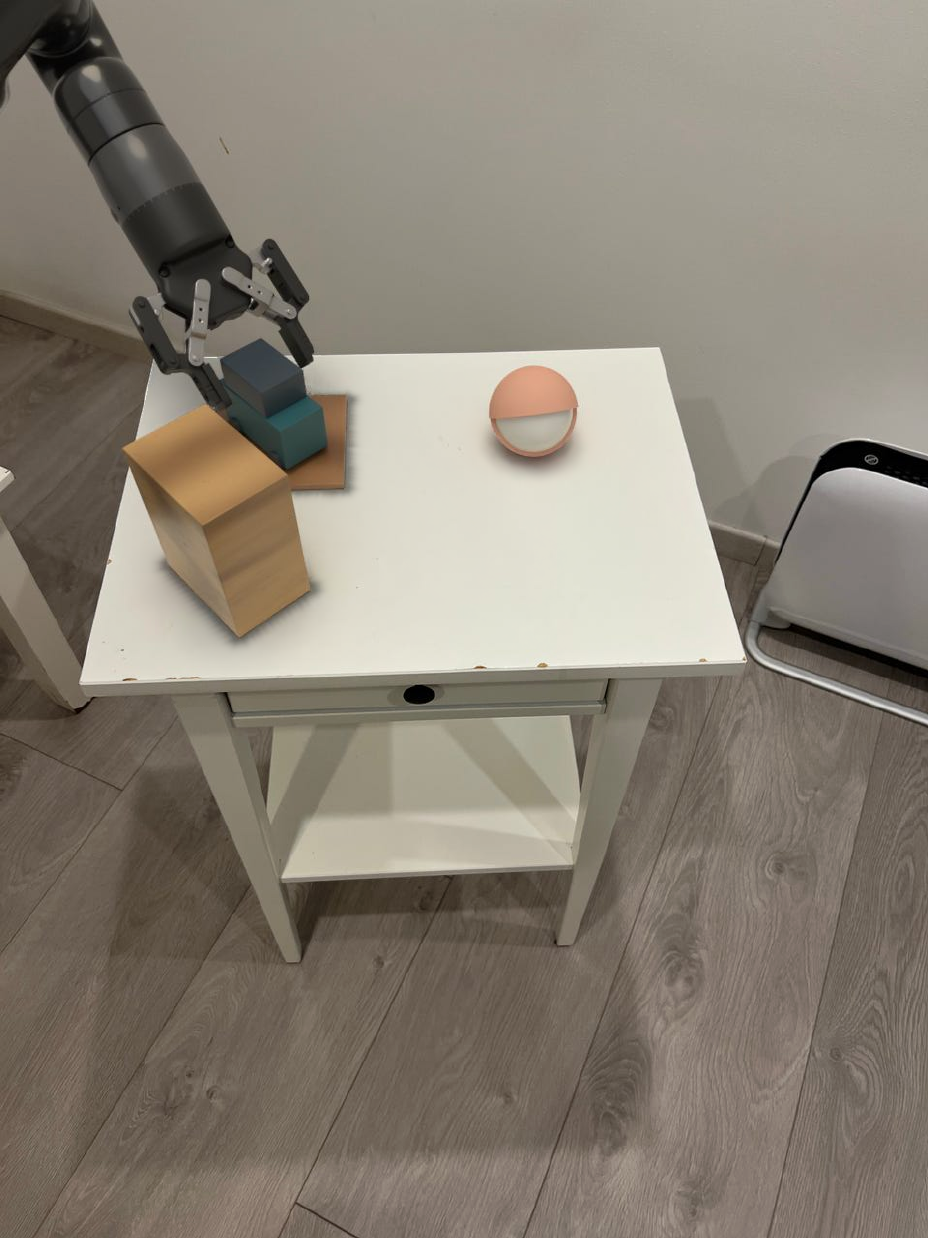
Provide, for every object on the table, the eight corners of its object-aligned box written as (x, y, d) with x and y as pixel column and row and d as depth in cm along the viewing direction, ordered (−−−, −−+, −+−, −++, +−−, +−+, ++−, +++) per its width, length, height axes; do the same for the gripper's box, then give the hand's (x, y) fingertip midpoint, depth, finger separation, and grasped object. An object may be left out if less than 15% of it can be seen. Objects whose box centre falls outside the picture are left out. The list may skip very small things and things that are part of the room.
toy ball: (496, 478, 78) (501, 409, 72) (479, 420, 82) (482, 351, 76) (581, 467, 79) (594, 399, 73) (560, 411, 83) (570, 342, 77)
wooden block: (311, 589, 70) (288, 474, 60) (239, 638, 67) (201, 525, 57) (239, 522, 74) (205, 402, 64) (168, 565, 71) (121, 447, 61)
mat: (344, 488, 77) (343, 483, 76) (207, 492, 76) (205, 487, 76) (346, 399, 84) (346, 394, 83) (221, 401, 83) (220, 397, 83)
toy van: (225, 427, 80) (206, 355, 74) (273, 401, 83) (258, 329, 76) (284, 478, 77) (270, 407, 70) (332, 449, 79) (323, 378, 72)
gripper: (87, 216, 64) (209, 414, 69) (246, 153, 70) (349, 339, 74) (75, 253, 71) (187, 431, 75) (222, 193, 76) (318, 361, 81)
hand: (268, 385), depth 75 cm, fingers open, 8 cm apart
